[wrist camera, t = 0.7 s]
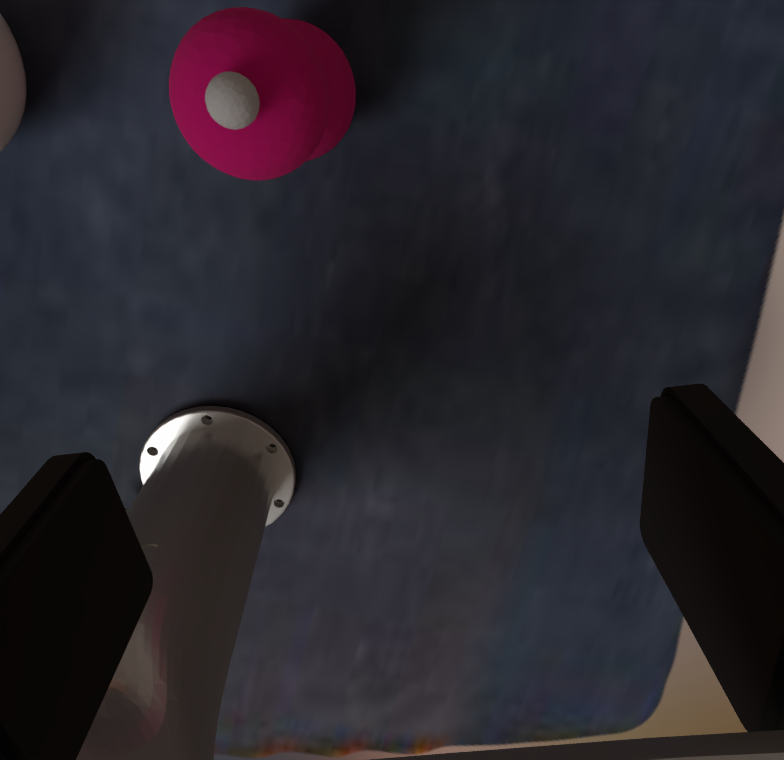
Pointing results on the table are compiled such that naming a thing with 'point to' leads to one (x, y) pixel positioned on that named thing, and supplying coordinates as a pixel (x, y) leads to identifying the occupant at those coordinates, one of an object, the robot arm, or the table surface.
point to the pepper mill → (260, 92)
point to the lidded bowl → (10, 85)
